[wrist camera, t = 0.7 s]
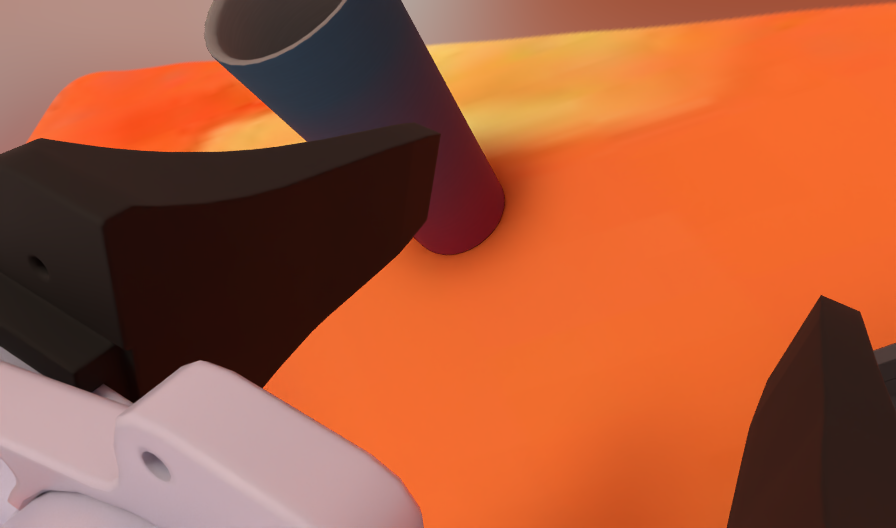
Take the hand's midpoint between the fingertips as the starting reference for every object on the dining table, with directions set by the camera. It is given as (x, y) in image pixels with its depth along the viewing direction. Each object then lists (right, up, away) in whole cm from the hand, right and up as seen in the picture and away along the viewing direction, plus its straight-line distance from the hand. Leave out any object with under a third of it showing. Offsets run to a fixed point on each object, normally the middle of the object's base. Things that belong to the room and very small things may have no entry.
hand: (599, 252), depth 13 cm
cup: (-2, +2, +24) cm, 24 cm away
